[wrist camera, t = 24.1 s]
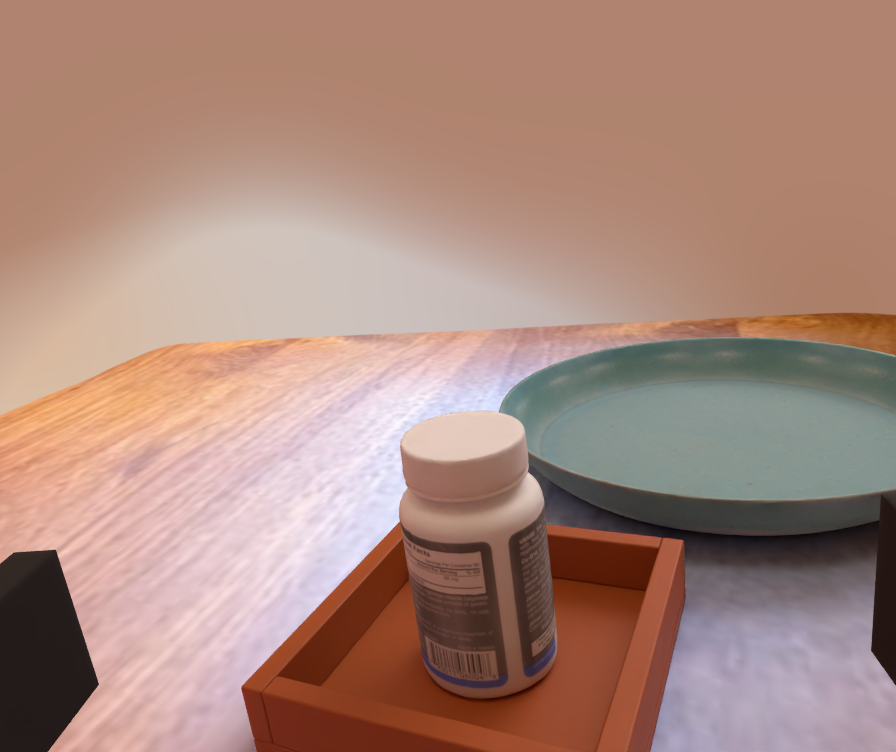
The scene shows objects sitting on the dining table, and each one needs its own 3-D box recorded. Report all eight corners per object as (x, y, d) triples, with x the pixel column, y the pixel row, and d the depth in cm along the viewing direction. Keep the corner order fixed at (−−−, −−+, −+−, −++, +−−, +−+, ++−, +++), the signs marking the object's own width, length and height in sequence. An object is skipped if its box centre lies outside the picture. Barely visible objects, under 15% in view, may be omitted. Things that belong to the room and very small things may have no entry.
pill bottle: (517, 598, 28) (496, 395, 26) (584, 670, 24) (567, 436, 22) (403, 640, 27) (369, 428, 24) (454, 725, 22) (418, 479, 20)
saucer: (1135, 572, 26) (1151, 490, 25) (477, 574, 31) (469, 506, 30) (880, 369, 49) (883, 321, 48) (522, 389, 54) (518, 346, 53)
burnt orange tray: (685, 598, 28) (684, 539, 27) (623, 868, 18) (618, 787, 17) (419, 559, 33) (411, 508, 32) (256, 753, 23) (239, 686, 22)
